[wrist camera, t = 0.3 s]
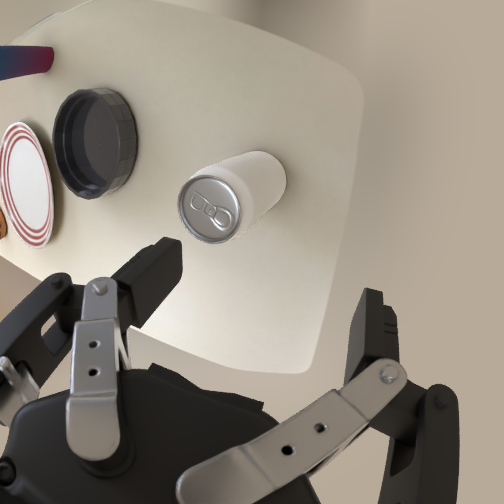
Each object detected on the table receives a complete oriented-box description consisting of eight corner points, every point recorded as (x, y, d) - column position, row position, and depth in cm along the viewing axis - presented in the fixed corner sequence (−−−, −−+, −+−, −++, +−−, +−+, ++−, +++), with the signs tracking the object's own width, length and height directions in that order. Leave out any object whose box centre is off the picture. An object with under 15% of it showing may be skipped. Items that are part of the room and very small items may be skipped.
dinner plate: (-2, 152, 52) (-12, 156, 50) (41, 94, 40) (27, 96, 37) (31, 252, 61) (21, 257, 58) (83, 228, 48) (69, 235, 46)
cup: (47, 82, 39) (-24, 93, 26) (34, 68, 38) (-31, 77, 26) (60, 50, 35) (-14, 54, 22) (47, 37, 35) (-22, 41, 22)
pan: (60, 125, 41) (42, 129, 38) (113, 66, 33) (93, 66, 30) (93, 207, 45) (77, 214, 42) (156, 162, 37) (137, 168, 34)
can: (270, 217, 35) (225, 263, 25) (224, 187, 36) (163, 221, 25) (298, 169, 32) (261, 198, 21) (247, 139, 32) (189, 154, 22)
